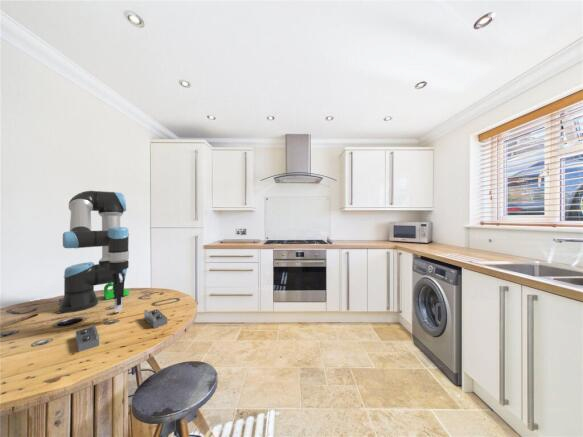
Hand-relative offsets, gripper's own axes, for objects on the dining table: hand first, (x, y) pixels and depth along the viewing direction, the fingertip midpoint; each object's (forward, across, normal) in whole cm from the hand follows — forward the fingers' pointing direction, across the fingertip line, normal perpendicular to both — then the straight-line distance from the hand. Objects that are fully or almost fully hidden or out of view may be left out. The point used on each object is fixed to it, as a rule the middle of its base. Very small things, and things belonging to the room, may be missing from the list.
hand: (118, 311), depth 103 cm
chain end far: (+5, +13, +12) cm, 18 cm away
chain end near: (+5, +13, -12) cm, 18 cm away
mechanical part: (+7, -44, +7) cm, 45 cm away
